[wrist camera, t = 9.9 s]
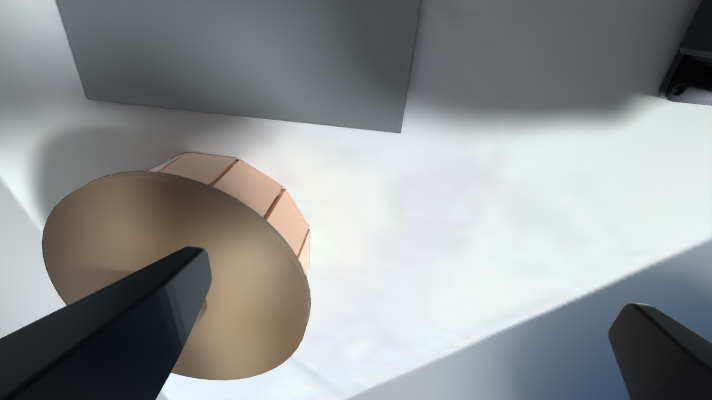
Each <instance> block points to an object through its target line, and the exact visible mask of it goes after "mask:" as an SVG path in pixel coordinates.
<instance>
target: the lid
mask: <svg viewBox="0 0 712 400" xmlns="http://www.w3.org/2000/svg"><path fill="white" fill-rule="evenodd" d="M186 246H193V247H201V248H205V249H206V250H207V252H208V255H209V261H210V266H211V272H212V283H211V286H210V289H209V291H208V294H207V296H206V298H205V301H204V303H203V305H202V308H201V310H200V312H199V315H198V317H197V319H196V322H195V324H194V326H193V329H192V331H191V333H190V336H189V338H188V340H187V342H186V344H185V347H184V349H183V351H182V353H181V355H180V357H179V358H178V360H177V362H176V364H175V366H174V368H173V369H172V371H171V373H174V374H178V375H182V376H187V377H192V378H198V379H207V380H235V379H243V378H248V377H253V376H256V375H260V374H263V373H265V372H267V371H270V370H272V369H274V368H276V367H277V366H279V365H281V364H282V363H283V362H285V361H286V360H287V359H288V358H289V357H290V356H291V355H292V354H293V353H294V352H295V350H296V349H297V348H298V346H299V344H300V343H301V341H302V339H303V336H304V333H305V330H306V326H307V323H308V319H309V315H310V307H311V298H310V289H309V285H308V281H307V277H306V275H305V272H304V270H303V267H302V265H301V263H300V261H299V260H298V258H297V256H296V254H295V253H294V251H293V250H292V248H291V247H290V246H289V244H288V243H287V242H286V240H285V239H284V238H283V236H282V235H281V234H280V233H279V232H278V231H277V230H276V229H275V228H274V227H273V226H272V225H271V224H270V223H269V222H268V221H266V220H265V219H264V218H263V217H262V216H260V215H259V214H258V213H257V212H256V211H254V210H253V209H251V208H250V207H248V206H247V205H245V204H244V203H243V202H241V201H240V200H238V199H236V198H234V197H233V196H231V195H229V194H227V193H225V192H223V191H221V190H219V189H217V188H215V187H212V186H210V185H207V184H205V183H202V182H200V181H197V180H193V179H190V178H186V177H183V176H180V175H174V174H168V173H163V172H152V171H131V172H121V173H116V174H112V175H107V176H104V177H102V178H99V179H97V180H94V181H92V182H90V183H88V184H86V185H85V186H83V187H81V188H79V189H78V190H76V191H74V192H73V193H71V194H70V195H68V196H66V197H65V198H64V199H63V200H62V201H61V202H60V203H59V204H58V205H57V206H56V207H55V208H54V209H53V211H52V212H51V214H50V215H49V217H48V219H47V221H46V224H45V227H44V230H43V239H42V251H43V258H44V263H45V266H46V270H47V272H48V275H49V277H50V280H51V282H52V284H53V285H54V287H55V289H56V291H57V292H58V294H59V296H60V297H61V298H62V300H63V301H64V303H65V304H66V305H69V304H71V303H73V302H75V301H77V300H79V299H81V298H83V297H85V296H87V295H89V294H91V293H93V292H95V291H97V290H99V289H101V288H103V287H105V286H107V285H109V284H111V283H113V282H115V281H117V280H119V279H121V278H123V277H125V276H127V275H129V274H131V273H133V272H135V271H137V270H139V269H141V268H143V267H145V266H147V265H149V264H151V263H154V262H156V261H158V260H160V259H162V258H164V257H166V256H168V255H170V254H172V253H174V252H176V251H178V250H180V249H182V248H184V247H186Z"/></svg>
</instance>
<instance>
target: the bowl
mask: <svg viewBox="0 0 712 400" xmlns="http://www.w3.org/2000/svg"><path fill="white" fill-rule="evenodd" d="M148 171H152V172H163V173H168V174H174V175H180V176H183V177H186V178H190V179H193V180H197V181H200V182H202V183H205V184H207V185H210V186H212V187H215V188H217V189H219V190H221V191H223V192H225V193H227V194H229V195H231V196H233V197H234V198H236V199H238V200H240V201H241V202H243V203H244V204H245V205H247V206H248V207H250V208H251V209H253V210H254V211H256V212H257V213H258V214H259V215H260V216H262V217H263V218H264V219H265V220H266V221H268V222H269V223H270V224H271V225H272V226H273V227H274V228H275V229H276V230H277V231H278V232H279V233H280V234H281V235H282V236H283V238H284V239H285V240H286V242H287V243H288V244H289V246H290V247H291V248H292V250H293V251H294V253H295V254H296V256H297V258H298V260H299V261H300V263H301V265H302V267H303V270H304V272H305V275H306V273H307V270H308V267H309V250H310V230H309V229H308V227H309V226H308V224H307V223H306V221H305V219H304V218H303V216H302V215H301V213H300V211H299V210H298V208H297V207H296V205H295V203H294V202H293V200H292V198H291V197H290V195H289V194H288V192H287V190H286V189H285V190H282V189H281V188H282V187H283V186H282V185H280V184H278V183H277V182H275V181H274V180H272V179H270V178H269V177H267V176H266V175H264V174H262V173H261V172H259V171H258V170H256V169H254V168H253V167H251V166H250V165H248V164H246V163H245V162H243V161H242V160H239V161H236V158H232V157H223V156H215V155H206V154H197V153H186V154H184V153H183V154H181V155H179V156H177V157H175V158H173V159H171V160H169V161H167V162H165V163H163V164H161V165H159V166H157V167H154V168H152V169H150V170H148Z"/></svg>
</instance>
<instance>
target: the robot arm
mask: <svg viewBox="0 0 712 400" xmlns="http://www.w3.org/2000/svg"><path fill="white" fill-rule="evenodd" d="M677 84H679V88H678V89H677V91H676V92H674V93H672V89H673V88H674V87H675V86H676V85H677ZM659 95H660V96H661V97H662V98H663V99H666V100H669V101H672V102H682V103H692V104H702V105H712V0H703V1H702V3H701V5H700V7H699V9H698V11H697V13H696V15H695V17H694V19H693V20H692V22H691V24H690V26H689V28H688V30H687V32H686V34H685V36H684V38H683V40H682V42H681V44H680V48H679V50H678V52H677V54H676V56H675V58H674V60H673V62H672V64H671V66H670V68H669V70H668V72H667V74H666V76H665V78H664V80H663V82H662V84H661V86H660V89H659ZM211 283H212V272H211V266H210V261H209V255H208V252H207V250H206V249H205V248H201V247H193V246H186V247H184V248H182V249H180V250H178V251H176V252H174V253H172V254H170V255H168V256H166V257H164V258H162V259H160V260H158V261H156V262H154V263H151V264H149V265H147V266H145V267H143V268H141V269H139V270H137V271H135V272H133V273H131V274H129V275H127V276H125V277H123V278H121V279H119V280H117V281H115V282H113V283H111V284H109V285H107V286H105V287H103V288H101V289H99V290H97V291H95V292H93V293H91V294H89V295H87V296H85V297H83V298H81V299H79V300H77V301H75V302H73V303H71V304H69V305H67V306H65V307H63V308H61V309H59V310H57V311H55V312H53V313H51V314H49V315H47V316H45V317H43V318H41V319H39V320H37V321H35V322H33V323H31V324H29V325H27V326H25V327H23V328H21V329H19V330H17V331H15V332H13V333H11V334H9V335H7V336H5V337H3V338H1V339H0V400H155V399H156V398H157V396H158V394H159V393H160V391H161V389H162V387H163V385H164V384H165V382H166V380H167V378H168V376H169V375H170V373H171V371H172V369H173V368H174V366H175V364H176V362H177V360H178V358H179V357H180V355H181V353H182V351H183V349H184V347H185V344H186V342H187V340H188V338H189V336H190V333H191V331H192V329H193V326H194V324H195V322H196V319H197V317H198V315H199V312H200V310H201V308H202V305H203V303H204V301H205V298H206V296H207V294H208V291H209V289H210V286H211ZM608 339H609V342H610V345H611V348H612V351H613V354H614V357H615V359H616V362H617V365H618V368H619V371H620V373H621V376H622V379H623V382H624V385H625V387H626V390H627V393H628V396H629V398H630V400H712V343H711V342H710V341H708V340H707V339H705V338H703V337H702V336H700V335H699V334H697V333H695V332H694V331H692V330H691V329H689V328H687V327H686V326H684V325H683V324H681V323H679V322H678V321H676V320H675V319H673V318H671V317H670V316H668V315H667V314H665V313H663V312H662V311H660V310H659V309H657V308H656V307H654V306H651V305H647V304H640V303H633V302H632V303H627V304H625V305H624V306H623V307H622V309H621V310H620V312H619V313H618V315H617V317H616V318H615V320H614V321H613V323H612V324H611V326H610V327H609V330H608Z"/></svg>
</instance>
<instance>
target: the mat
mask: <svg viewBox="0 0 712 400" xmlns="http://www.w3.org/2000/svg"><path fill="white" fill-rule="evenodd" d="M56 1H57V4H58V7H59V10H60V13H61V17H62V20H63V23H64V26H65V30H66V33H67V36H68V39H69V43H70V46H71V49H72V52H73V56H74V59H75V62H76V65H77V69H78V72H79V75H80V78H81V82H82V85H83V88H84V91H85V95H86V98H87V99H89V100H98V101H107V102H116V103H126V104H135V105H144V106H153V107H162V108H172V109H181V110H190V111H199V112H208V113H218V114H227V115H236V116H245V117H254V118H264V119H273V120H282V121H291V122H301V123H310V124H319V125H328V126H337V127H347V128H356V129H365V130H374V131H383V132H393V133H401V128H402V121H403V115H404V108H405V101H406V95H407V88H408V81H409V75H410V68H411V61H412V55H413V48H414V42H415V35H416V28H417V22H418V15H419V8H420V2H421V0H56Z"/></svg>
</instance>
